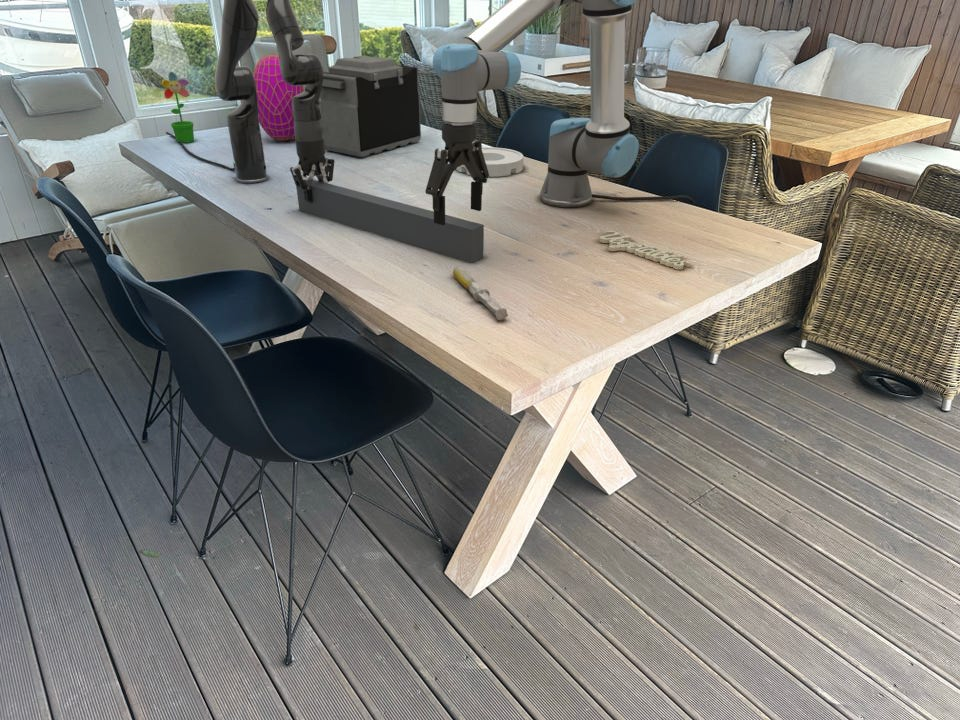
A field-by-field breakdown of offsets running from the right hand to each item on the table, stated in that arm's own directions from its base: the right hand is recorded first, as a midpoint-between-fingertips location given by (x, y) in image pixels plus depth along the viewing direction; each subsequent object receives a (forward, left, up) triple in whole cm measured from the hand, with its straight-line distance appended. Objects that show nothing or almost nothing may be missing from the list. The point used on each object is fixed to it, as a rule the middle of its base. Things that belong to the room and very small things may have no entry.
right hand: (458, 216), depth 160 cm
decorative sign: (-39, -21, -10) cm, 45 cm away
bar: (+25, -6, -10) cm, 27 cm away
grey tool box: (+78, -83, -10) cm, 114 cm away
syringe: (-14, +19, -10) cm, 26 cm away
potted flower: (+144, -56, -10) cm, 155 cm away
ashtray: (+26, -75, -10) cm, 80 cm away
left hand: (+49, -11, -6) cm, 51 cm away
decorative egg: (+113, -75, -10) cm, 136 cm away
